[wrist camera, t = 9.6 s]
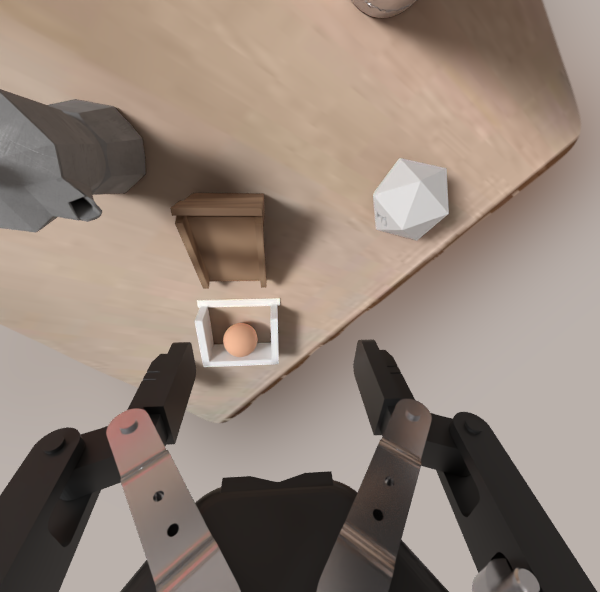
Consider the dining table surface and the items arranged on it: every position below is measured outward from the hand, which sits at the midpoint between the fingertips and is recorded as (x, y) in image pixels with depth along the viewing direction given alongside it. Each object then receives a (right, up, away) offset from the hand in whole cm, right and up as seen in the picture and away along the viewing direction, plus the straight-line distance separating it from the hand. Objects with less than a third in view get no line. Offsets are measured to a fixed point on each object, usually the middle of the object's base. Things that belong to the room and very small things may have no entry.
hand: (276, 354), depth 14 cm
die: (+13, +16, +23) cm, 31 cm away
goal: (-8, -2, +31) cm, 32 cm away
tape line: (-8, +2, +28) cm, 30 cm away
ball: (-8, -4, +29) cm, 30 cm away
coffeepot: (-21, +19, +17) cm, 34 cm away
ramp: (-8, +10, +24) cm, 27 cm away
